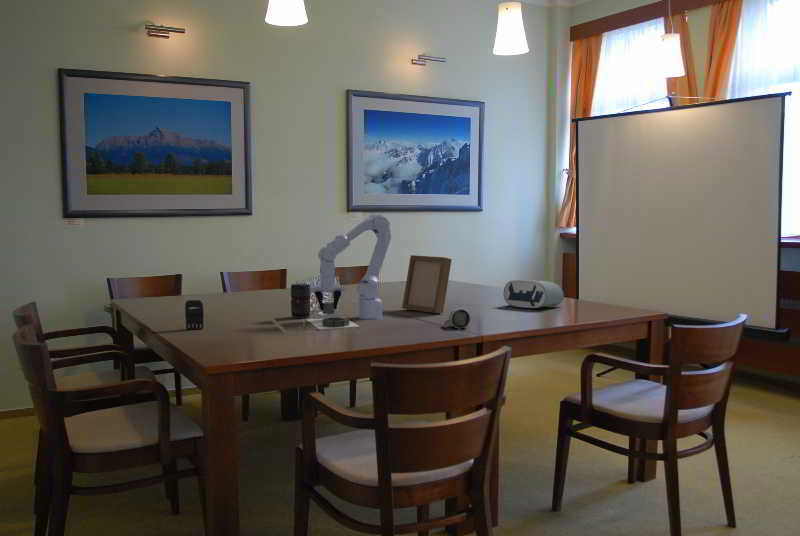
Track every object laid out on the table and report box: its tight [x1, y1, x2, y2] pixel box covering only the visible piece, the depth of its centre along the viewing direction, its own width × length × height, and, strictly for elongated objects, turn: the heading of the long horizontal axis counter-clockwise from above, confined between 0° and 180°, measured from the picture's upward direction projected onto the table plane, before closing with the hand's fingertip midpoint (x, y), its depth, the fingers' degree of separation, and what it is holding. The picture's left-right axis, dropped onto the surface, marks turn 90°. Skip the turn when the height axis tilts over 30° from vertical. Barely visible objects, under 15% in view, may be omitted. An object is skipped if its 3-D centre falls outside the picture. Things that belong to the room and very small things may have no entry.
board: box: [305, 316, 361, 332], centre depth 272 cm, size 16×24×3 cm, turn 19°
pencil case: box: [503, 279, 565, 309], centre depth 322 cm, size 22×19×13 cm
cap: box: [321, 302, 336, 315], centre depth 278 cm, size 5×5×4 cm
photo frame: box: [401, 254, 453, 315], centre depth 309 cm, size 15×22×25 cm
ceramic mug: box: [441, 307, 471, 330], centre depth 266 cm, size 11×8×8 cm
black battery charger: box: [184, 299, 205, 330], centre depth 263 cm, size 7×4×11 cm, turn 106°
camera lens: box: [290, 283, 311, 320], centre depth 285 cm, size 8×8×15 cm
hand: (328, 309), depth 278 cm, fingers closed on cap, 5 cm apart
